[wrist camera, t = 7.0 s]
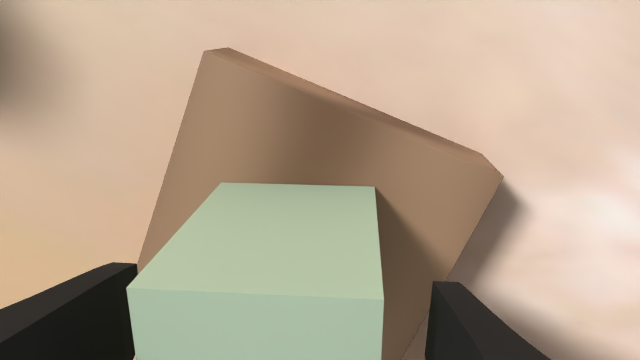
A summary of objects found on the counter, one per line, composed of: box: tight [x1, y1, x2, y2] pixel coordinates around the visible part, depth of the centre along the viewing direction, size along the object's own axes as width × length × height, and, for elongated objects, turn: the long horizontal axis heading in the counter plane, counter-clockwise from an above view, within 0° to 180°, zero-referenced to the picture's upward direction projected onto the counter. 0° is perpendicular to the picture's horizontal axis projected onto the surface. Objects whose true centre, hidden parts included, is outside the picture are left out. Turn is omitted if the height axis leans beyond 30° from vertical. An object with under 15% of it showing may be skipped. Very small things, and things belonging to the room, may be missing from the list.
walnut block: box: [137, 48, 504, 360], centre depth 16 cm, size 9×9×3 cm
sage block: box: [126, 182, 384, 360], centre depth 12 cm, size 4×4×6 cm
